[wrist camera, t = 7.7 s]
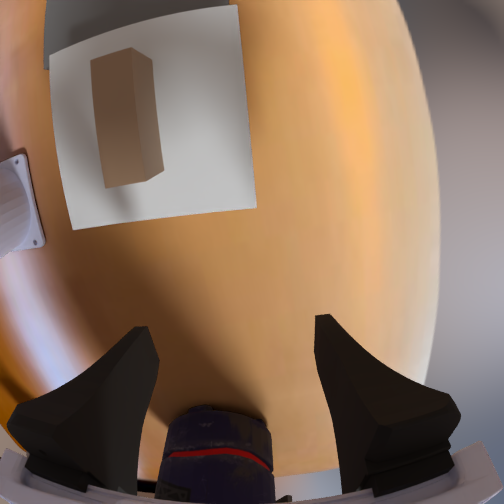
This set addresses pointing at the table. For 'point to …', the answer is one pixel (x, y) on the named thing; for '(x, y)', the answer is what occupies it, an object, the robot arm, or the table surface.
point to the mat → (104, 18)
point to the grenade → (217, 460)
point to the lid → (154, 120)
